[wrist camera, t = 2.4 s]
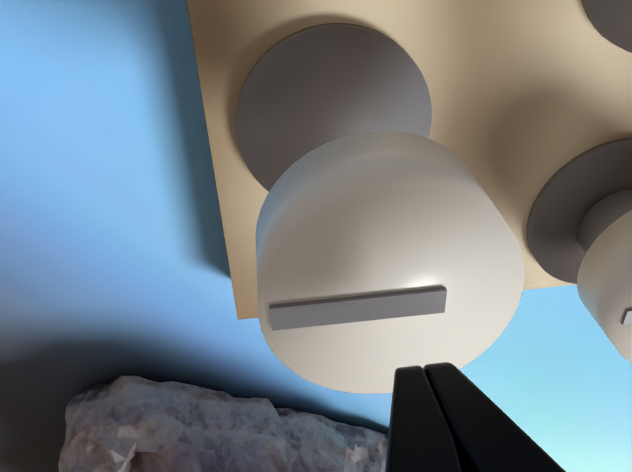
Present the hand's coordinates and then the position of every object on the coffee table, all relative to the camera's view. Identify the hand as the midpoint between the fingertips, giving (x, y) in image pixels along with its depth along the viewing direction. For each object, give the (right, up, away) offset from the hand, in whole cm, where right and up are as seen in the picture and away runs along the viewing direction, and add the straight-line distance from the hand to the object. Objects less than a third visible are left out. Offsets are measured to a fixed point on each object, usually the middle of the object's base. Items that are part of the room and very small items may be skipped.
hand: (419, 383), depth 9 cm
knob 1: (-1, +3, +5) cm, 6 cm away
